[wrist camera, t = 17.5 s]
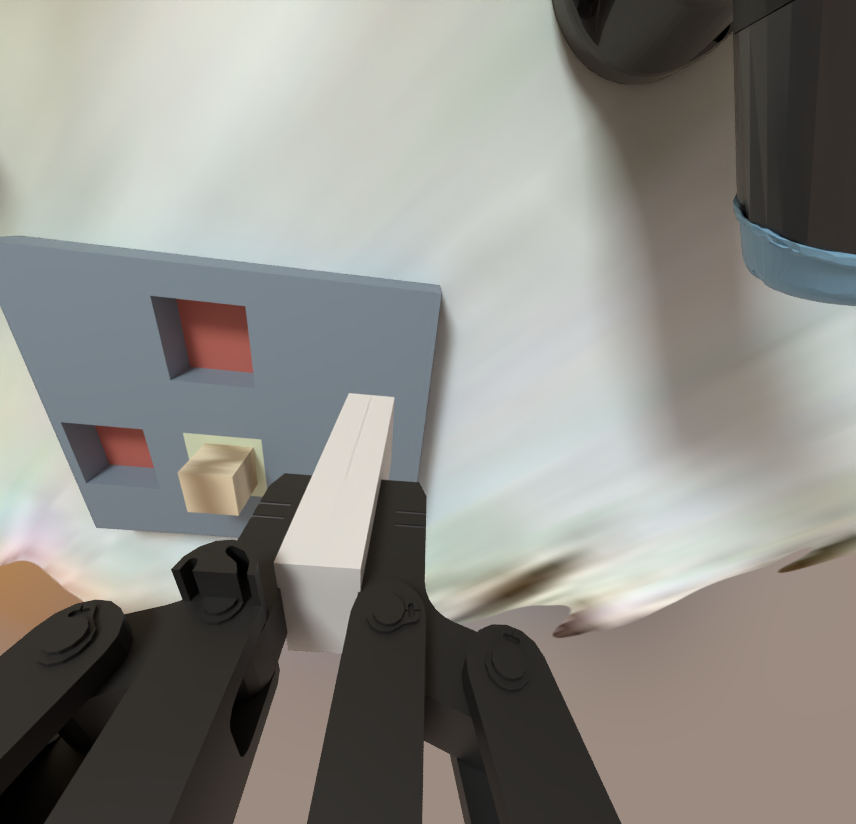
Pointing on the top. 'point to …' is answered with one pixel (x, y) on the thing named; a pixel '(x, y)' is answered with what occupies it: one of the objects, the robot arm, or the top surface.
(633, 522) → the top surface
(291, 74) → the top surface
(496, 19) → the top surface
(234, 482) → the maple block
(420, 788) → the robot arm
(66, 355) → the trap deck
